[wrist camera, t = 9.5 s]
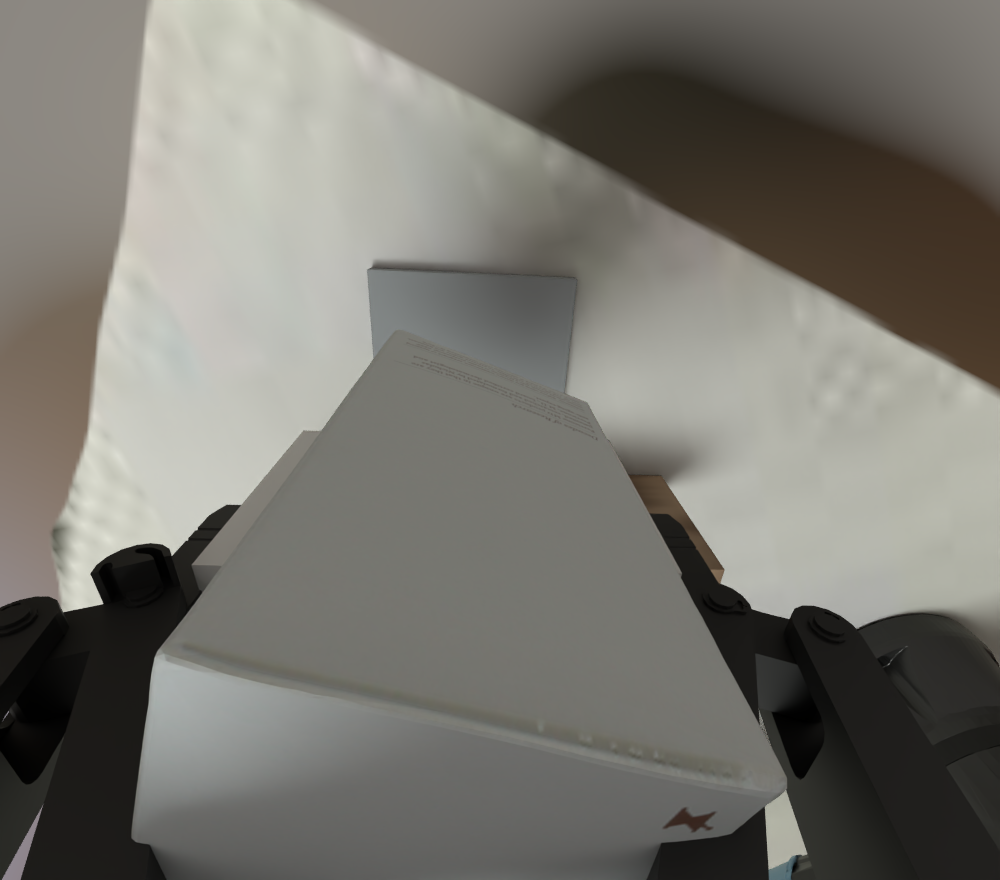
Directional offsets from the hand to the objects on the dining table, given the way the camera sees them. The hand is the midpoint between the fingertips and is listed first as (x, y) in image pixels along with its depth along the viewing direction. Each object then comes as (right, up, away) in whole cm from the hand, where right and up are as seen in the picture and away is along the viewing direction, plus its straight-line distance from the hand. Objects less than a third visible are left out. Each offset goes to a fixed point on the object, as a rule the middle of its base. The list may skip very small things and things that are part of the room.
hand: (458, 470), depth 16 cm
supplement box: (0, +1, +1) cm, 2 cm away
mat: (0, +6, +13) cm, 15 cm away
